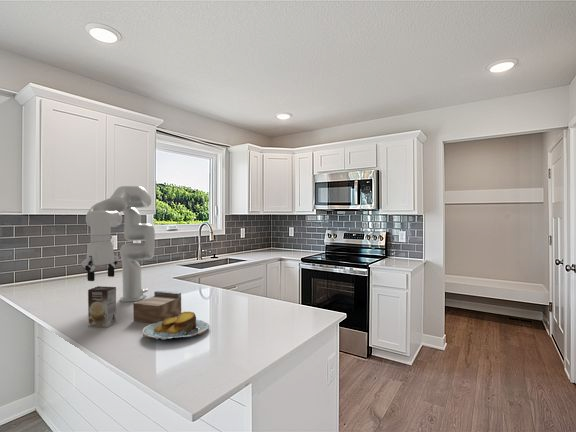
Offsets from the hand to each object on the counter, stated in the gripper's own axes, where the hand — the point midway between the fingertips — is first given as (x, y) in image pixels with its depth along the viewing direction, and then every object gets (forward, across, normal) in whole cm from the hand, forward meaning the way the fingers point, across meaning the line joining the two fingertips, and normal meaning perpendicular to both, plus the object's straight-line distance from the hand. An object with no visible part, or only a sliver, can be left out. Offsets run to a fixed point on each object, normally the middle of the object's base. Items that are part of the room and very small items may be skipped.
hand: (101, 278), depth 135 cm
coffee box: (+20, -1, 0) cm, 20 cm away
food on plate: (+21, -3, +37) cm, 42 cm away
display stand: (+20, -16, +16) cm, 30 cm away
